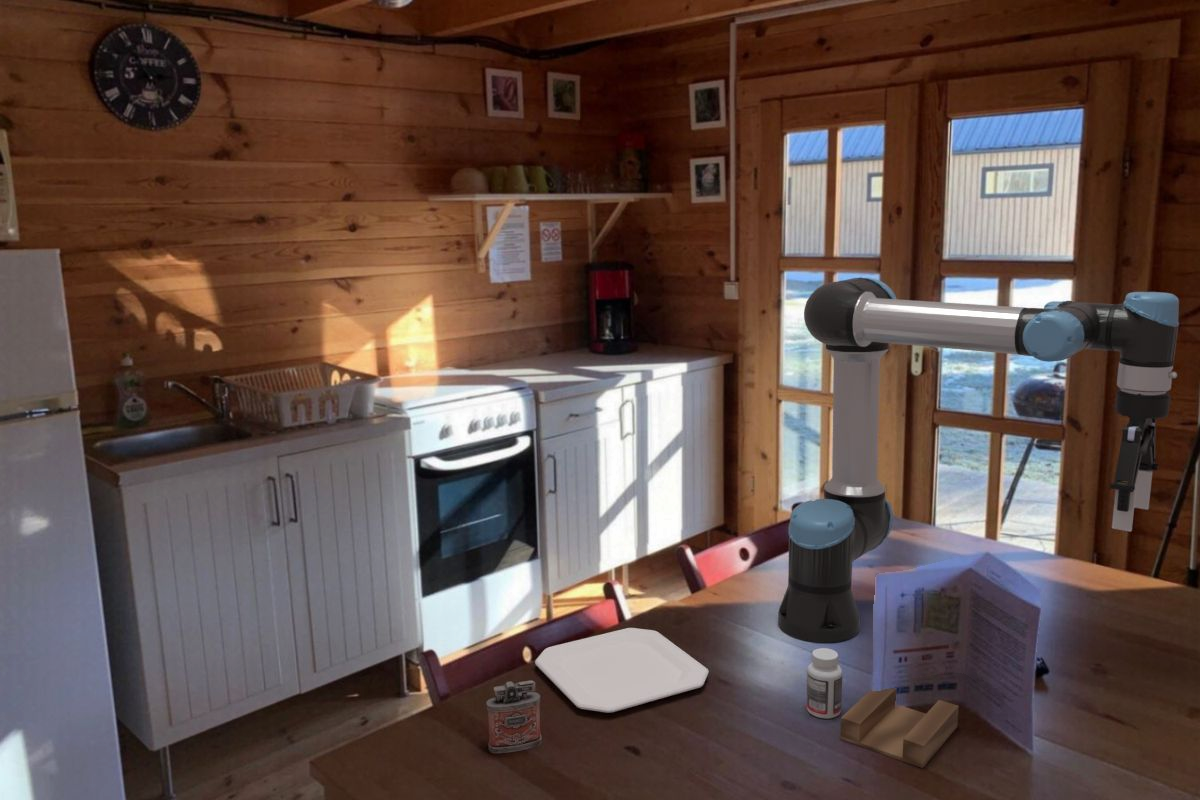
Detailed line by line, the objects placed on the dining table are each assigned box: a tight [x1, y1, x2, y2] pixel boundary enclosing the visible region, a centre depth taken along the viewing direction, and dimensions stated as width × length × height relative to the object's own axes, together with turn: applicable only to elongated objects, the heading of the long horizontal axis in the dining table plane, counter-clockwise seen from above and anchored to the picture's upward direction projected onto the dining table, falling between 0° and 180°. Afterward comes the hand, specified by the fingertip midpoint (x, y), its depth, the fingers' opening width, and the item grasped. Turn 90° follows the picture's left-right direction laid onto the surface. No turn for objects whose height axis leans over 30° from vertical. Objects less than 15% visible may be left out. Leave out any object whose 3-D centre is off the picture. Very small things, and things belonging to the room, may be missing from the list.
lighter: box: [486, 680, 543, 754], centre depth 144 cm, size 8×3×10 cm, turn 106°
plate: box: [534, 627, 710, 714], centre depth 166 cm, size 25×25×2 cm
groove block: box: [839, 688, 960, 769], centre depth 146 cm, size 13×14×4 cm
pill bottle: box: [806, 647, 843, 720], centre depth 152 cm, size 5×5×10 cm
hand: (1130, 518), depth 157 cm, fingers open, 13 cm apart
